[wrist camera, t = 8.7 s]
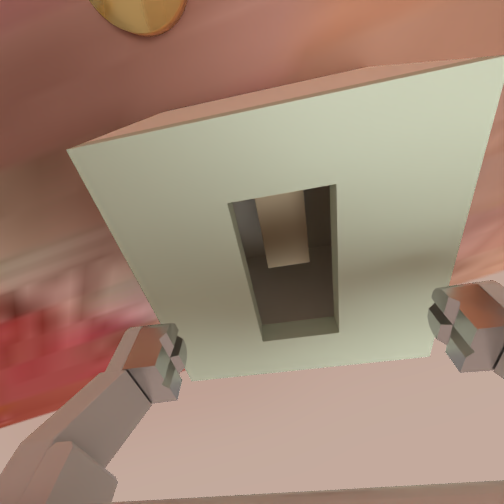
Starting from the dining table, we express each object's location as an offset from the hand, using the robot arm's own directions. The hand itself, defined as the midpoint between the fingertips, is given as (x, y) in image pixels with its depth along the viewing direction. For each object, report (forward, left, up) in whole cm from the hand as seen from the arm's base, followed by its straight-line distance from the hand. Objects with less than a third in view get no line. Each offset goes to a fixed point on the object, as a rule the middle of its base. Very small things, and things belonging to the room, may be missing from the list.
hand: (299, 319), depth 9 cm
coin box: (0, 0, -12) cm, 12 cm away
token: (0, 0, -12) cm, 12 cm away
